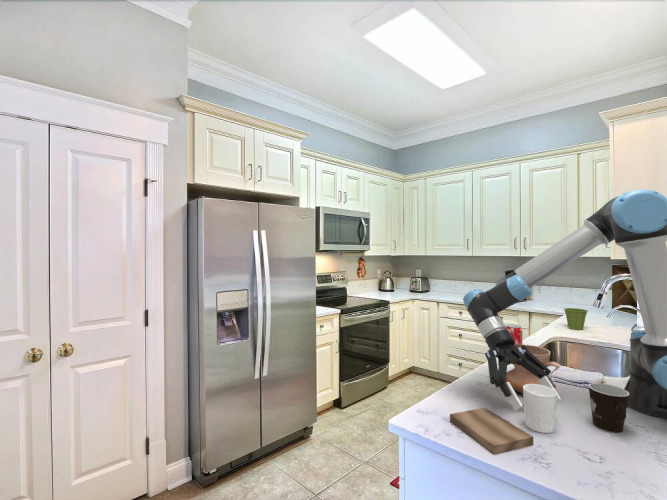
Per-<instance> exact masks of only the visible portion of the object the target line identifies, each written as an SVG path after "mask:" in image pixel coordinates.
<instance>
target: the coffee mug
mask: <svg viewBox="0 0 667 500" xmlns="http://www.w3.org/2000/svg"><path fill="white" fill-rule="evenodd" d="M588 393H589V400H590V401H589V403H590V408H591V410H590V411H591V418H592V424H593V426H595V427H596V428H598V429H599V430H603V431H606V432H609V433H615V434H617V433H618V434H619V433H620V434H621V433H623V431H624V426H625V421H626V418H627V410H628V406H627V405H628V399H629V392H627V391H626V390H624V388H622V387H618V386H617V385H612V384H607V383H602V382H601V383H600V382H592V383H588Z"/></svg>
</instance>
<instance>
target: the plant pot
mask: <svg viewBox="0 0 667 500" xmlns="http://www.w3.org/2000/svg"><path fill="white" fill-rule="evenodd" d="M563 310H564V313H565V317H566V323H567V327H568V329H572V330H574V329H575V330H574V331H576V330H577V331H580V330H584V328H585V322H586V316H587V314H588V312H589V310H588V309H584V308H576V307H575V308H571V307H565V308H563Z"/></svg>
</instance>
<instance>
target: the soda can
mask: <svg viewBox="0 0 667 500" xmlns="http://www.w3.org/2000/svg"><path fill="white" fill-rule="evenodd" d="M506 327H507V330H508V331H509V332H510V334H511V335H512V337H513V338H514V344H523V329H522V326H521V325H519V324H513V323H512V324H511V323H510V324H509V323H508V324H506Z"/></svg>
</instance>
